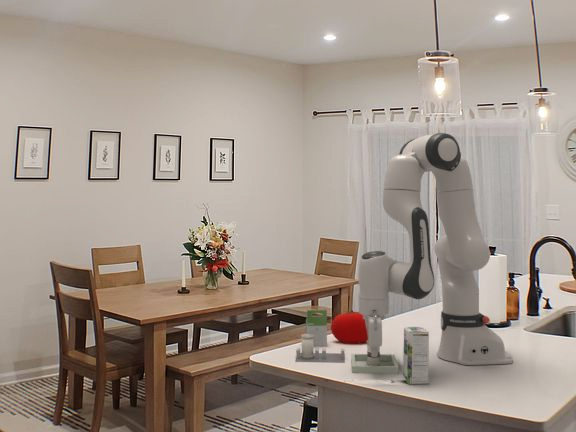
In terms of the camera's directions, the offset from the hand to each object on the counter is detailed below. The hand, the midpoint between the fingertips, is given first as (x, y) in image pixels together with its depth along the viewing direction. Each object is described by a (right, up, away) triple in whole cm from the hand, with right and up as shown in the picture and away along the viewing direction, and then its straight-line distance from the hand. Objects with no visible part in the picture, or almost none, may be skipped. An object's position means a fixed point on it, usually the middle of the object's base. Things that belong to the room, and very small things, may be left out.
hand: (373, 353), depth 168 cm
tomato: (-3, -4, +31) cm, 31 cm away
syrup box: (+10, -5, -10) cm, 15 cm away
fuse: (0, -3, 0) cm, 3 cm away
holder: (-15, -5, +10) cm, 18 cm away
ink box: (-16, -4, +25) cm, 30 cm away
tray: (0, -5, 0) cm, 5 cm away
